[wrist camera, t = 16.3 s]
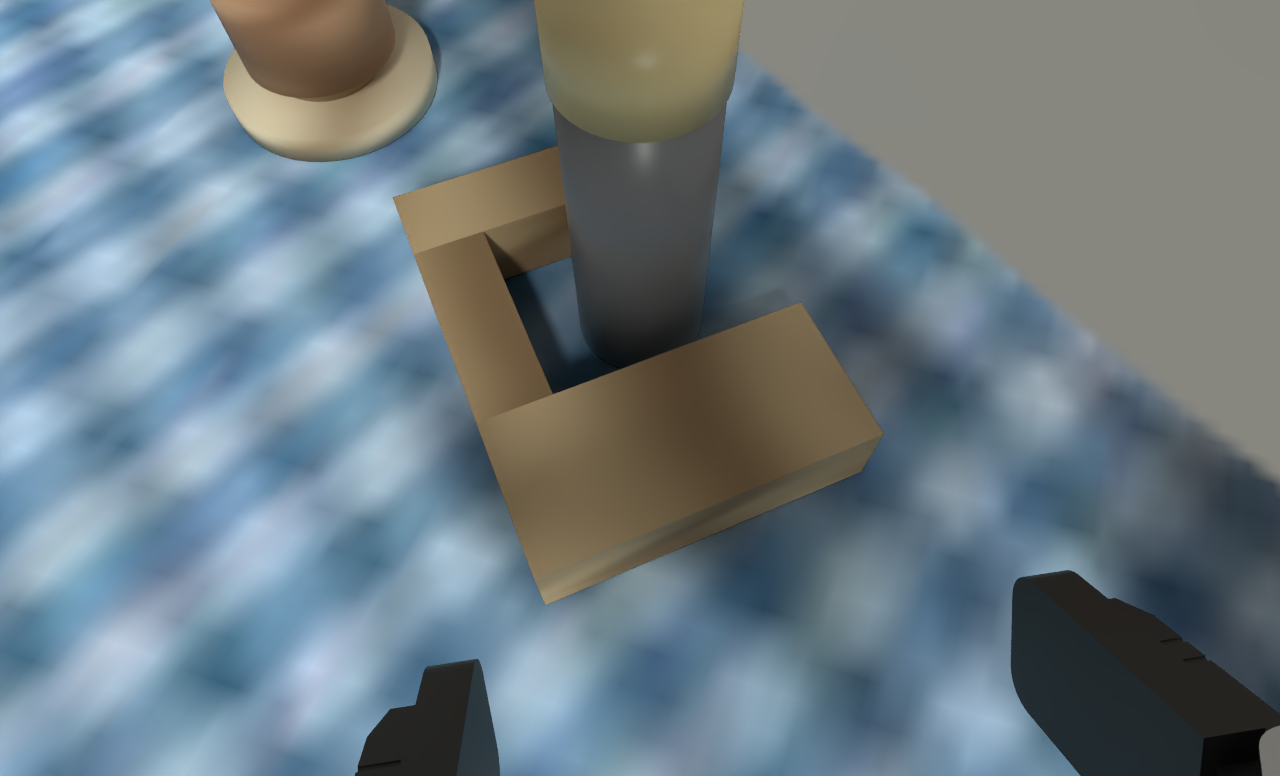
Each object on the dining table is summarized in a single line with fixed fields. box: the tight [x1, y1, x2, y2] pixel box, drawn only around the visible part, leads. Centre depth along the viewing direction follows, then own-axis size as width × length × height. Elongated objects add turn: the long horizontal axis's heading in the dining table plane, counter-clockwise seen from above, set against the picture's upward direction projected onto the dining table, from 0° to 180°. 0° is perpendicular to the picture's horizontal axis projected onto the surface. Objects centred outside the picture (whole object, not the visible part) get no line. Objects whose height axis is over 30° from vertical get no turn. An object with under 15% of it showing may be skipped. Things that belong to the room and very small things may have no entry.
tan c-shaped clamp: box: [393, 146, 884, 605], centre depth 23 cm, size 9×12×2 cm
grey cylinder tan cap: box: [534, 0, 744, 368], centre depth 19 cm, size 4×4×11 cm
